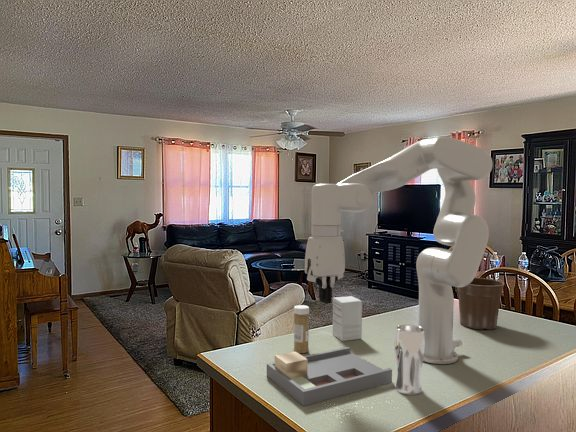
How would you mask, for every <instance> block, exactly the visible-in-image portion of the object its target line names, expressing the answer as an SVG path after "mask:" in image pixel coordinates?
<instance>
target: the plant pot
mask: <svg viewBox="0 0 576 432" xmlns="http://www.w3.org/2000/svg"><path fill="white" fill-rule="evenodd" d="M504 286H505V282H503V281H501V280H497V279H492V278H491V279H490V278H484V277H474V279H473V281H472V282H471V283H470V284H469V285H467V286H465V287H456V291H457V295H458V309H459V323H460V324H461V325H462V326H463V327H466V328H469V329H472V330H473V329H474V330H484V329H486V330H488V331H489V330H495V329H497V327H498V326H497V325H498V319H499V318H498V316H499V309H500V304H501V296H502V295H503V287H504Z"/></svg>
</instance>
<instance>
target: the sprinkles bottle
mask: <svg viewBox="0 0 576 432" xmlns="http://www.w3.org/2000/svg"><path fill="white" fill-rule="evenodd" d="M293 313H294V314H293V315H294V316H293V317H294V319H293V344H294V345H293V347H294V348H293V352H297V353H299V354H306V353H308V352H309V349H310V348H309V340H310V339H309V334H310V333H309V330H310V329H309V328H310V327H309V315H310V306H308V305H305V304H299V305H294V307H293Z"/></svg>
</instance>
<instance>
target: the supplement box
mask: <svg viewBox="0 0 576 432" xmlns="http://www.w3.org/2000/svg"><path fill="white" fill-rule="evenodd" d="M362 327H363V300H360V299H359V298H357V297H355V296H352V295H349V296H337V297H332V335H333V336H334V337H335V338H337V339H338V340H340V342H346V341H355V340H361V339H362V337H363V335H362V333H363V332H362V331H363V328H362Z"/></svg>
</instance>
